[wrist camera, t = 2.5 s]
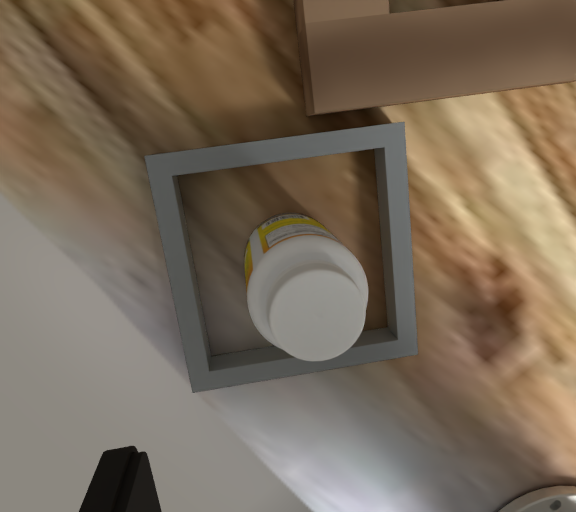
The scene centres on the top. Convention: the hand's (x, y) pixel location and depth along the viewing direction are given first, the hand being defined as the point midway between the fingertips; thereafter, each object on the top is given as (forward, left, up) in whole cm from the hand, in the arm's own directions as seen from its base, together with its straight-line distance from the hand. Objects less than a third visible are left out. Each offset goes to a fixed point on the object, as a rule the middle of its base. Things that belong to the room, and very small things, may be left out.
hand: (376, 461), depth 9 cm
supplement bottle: (0, 0, -19) cm, 19 cm away
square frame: (0, 0, -19) cm, 19 cm away
